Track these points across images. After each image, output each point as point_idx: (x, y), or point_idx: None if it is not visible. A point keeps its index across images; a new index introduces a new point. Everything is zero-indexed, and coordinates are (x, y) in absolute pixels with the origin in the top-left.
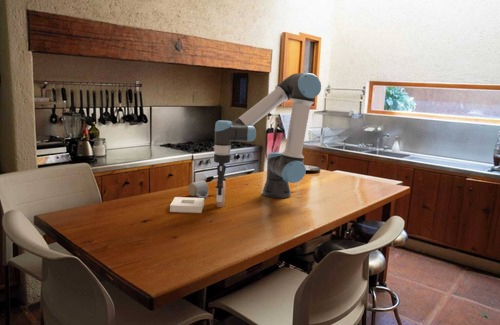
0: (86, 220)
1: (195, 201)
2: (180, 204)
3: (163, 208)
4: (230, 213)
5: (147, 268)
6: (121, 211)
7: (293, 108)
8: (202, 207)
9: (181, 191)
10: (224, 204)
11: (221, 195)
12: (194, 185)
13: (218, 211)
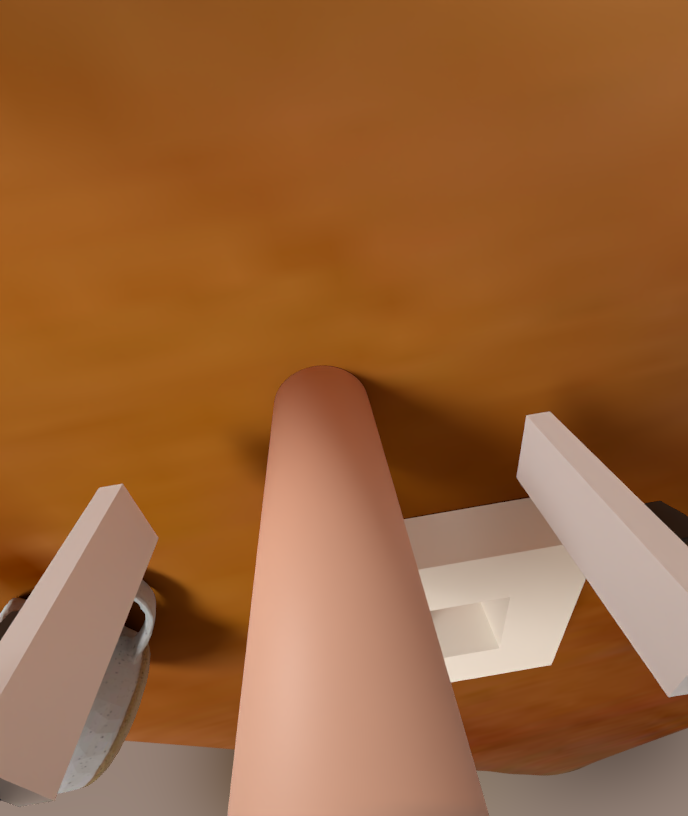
0: (618, 725)
1: (442, 603)
2: (534, 639)
3: None
4: (612, 232)
5: None
6: (519, 714)
7: None
8: (466, 521)
9: None
10: (327, 377)
11: (614, 494)
12: (108, 757)
13: (524, 381)
